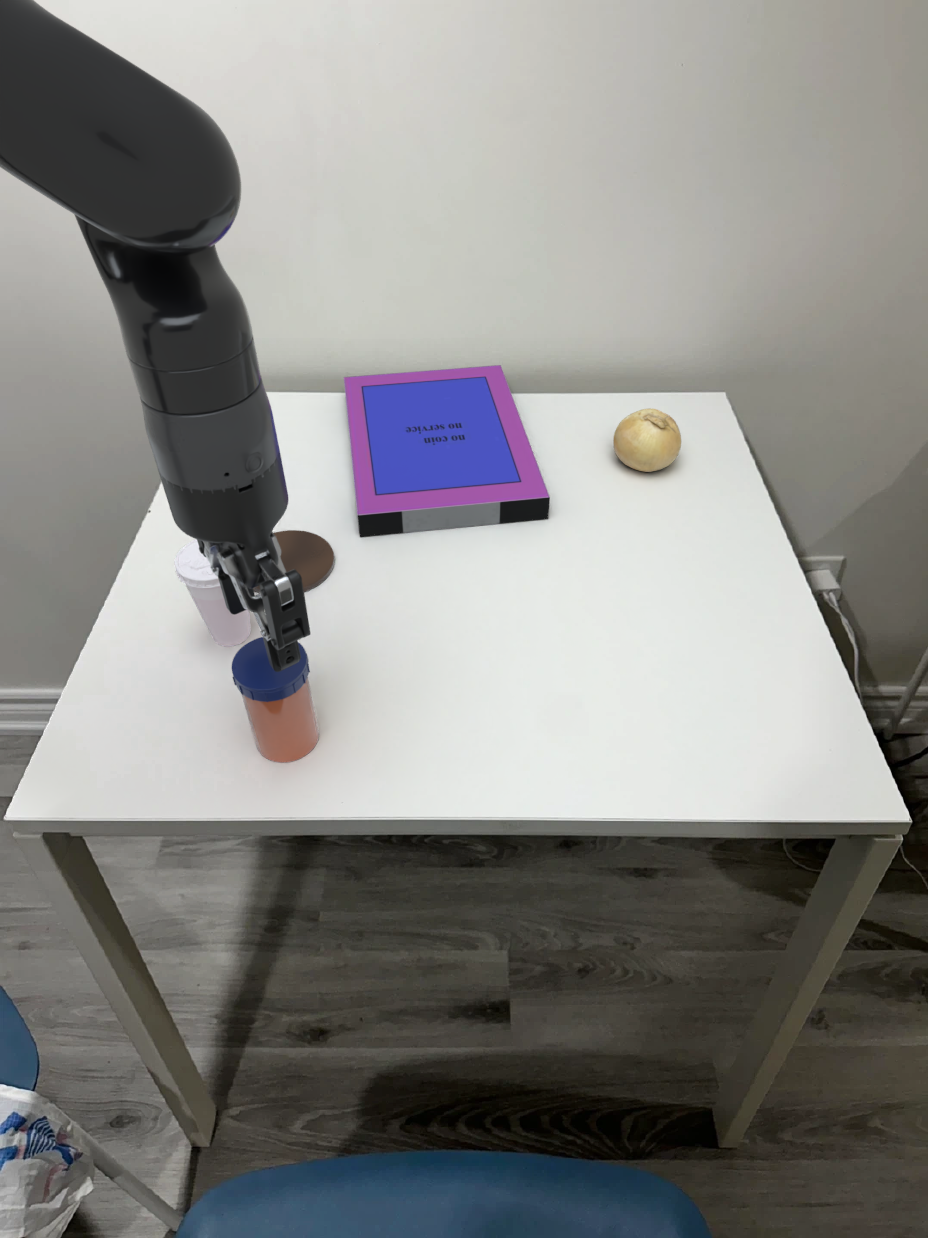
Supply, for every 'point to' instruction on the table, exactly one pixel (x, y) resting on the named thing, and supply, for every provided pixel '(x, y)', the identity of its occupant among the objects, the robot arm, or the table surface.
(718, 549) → the table surface
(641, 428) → the onion
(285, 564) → the coaster
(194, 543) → the smoothie
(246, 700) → the jar
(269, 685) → the jar lid
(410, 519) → the book
